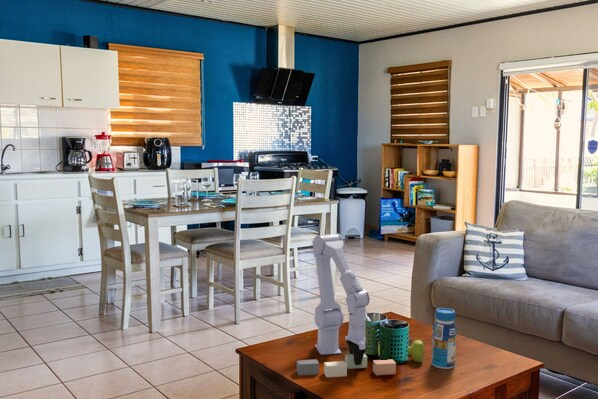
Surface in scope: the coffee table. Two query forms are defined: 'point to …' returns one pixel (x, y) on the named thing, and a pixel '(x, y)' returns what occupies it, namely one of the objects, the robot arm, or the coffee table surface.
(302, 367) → the brick charcoal
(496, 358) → the coffee table surface
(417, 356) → the dumbbell
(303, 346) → the coffee table surface
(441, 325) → the beverage bottle
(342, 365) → the brick cream
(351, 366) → the brick sage
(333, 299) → the robot arm
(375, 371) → the brick terracotta
